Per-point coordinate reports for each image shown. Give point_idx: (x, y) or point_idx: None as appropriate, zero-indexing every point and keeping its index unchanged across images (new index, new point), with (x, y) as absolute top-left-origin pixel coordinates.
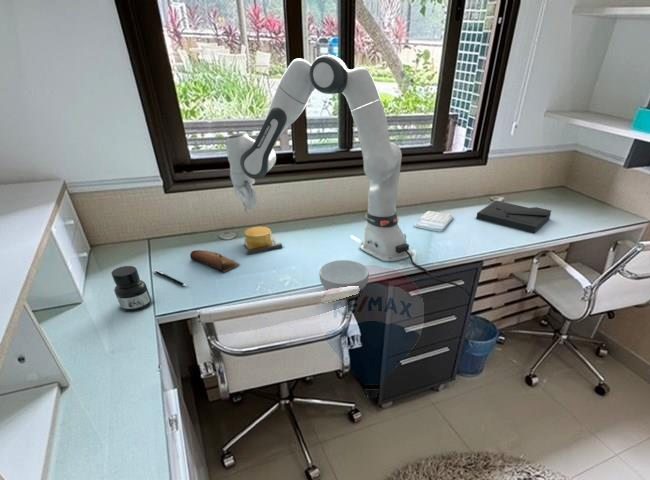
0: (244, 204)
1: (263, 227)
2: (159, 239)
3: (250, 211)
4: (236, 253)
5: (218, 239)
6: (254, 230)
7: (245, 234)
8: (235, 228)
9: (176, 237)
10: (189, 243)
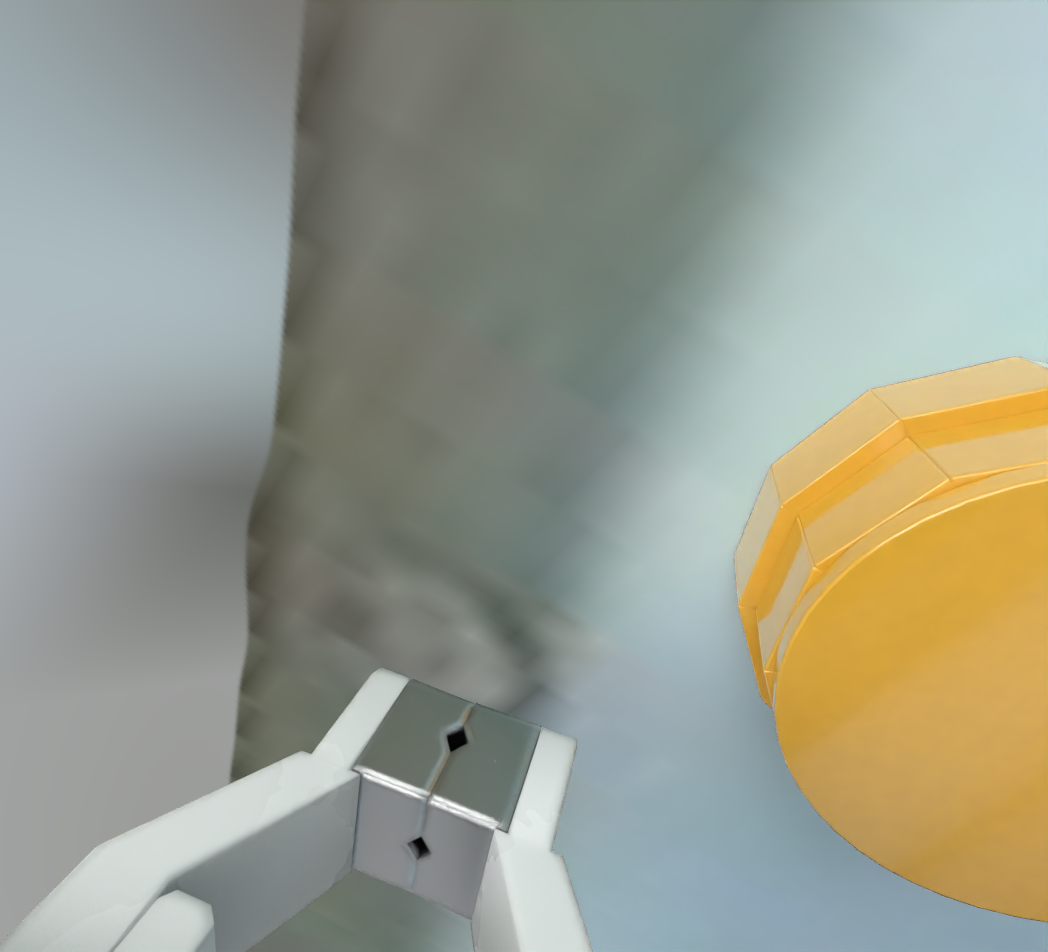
0: (237, 936)
1: (1004, 529)
2: None
3: (563, 782)
4: None
5: None
6: (968, 739)
7: (949, 889)
8: (270, 485)
9: None
10: (398, 898)
